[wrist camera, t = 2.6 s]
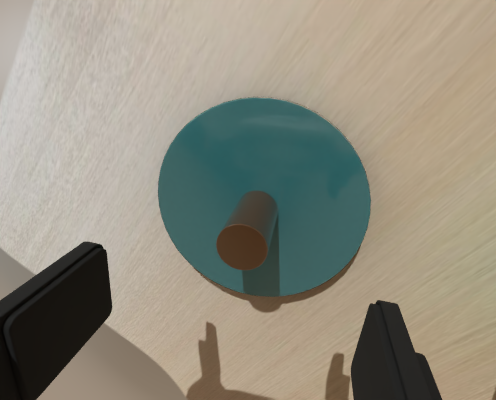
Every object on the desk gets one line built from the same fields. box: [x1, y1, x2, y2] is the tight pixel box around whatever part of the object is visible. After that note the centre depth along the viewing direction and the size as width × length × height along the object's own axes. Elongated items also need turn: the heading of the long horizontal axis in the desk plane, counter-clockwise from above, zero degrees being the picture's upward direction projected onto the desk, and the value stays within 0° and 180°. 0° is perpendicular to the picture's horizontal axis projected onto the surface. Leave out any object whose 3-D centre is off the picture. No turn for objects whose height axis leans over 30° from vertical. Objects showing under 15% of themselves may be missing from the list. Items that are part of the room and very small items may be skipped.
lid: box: [158, 97, 371, 297], centre depth 16 cm, size 12×12×6 cm
